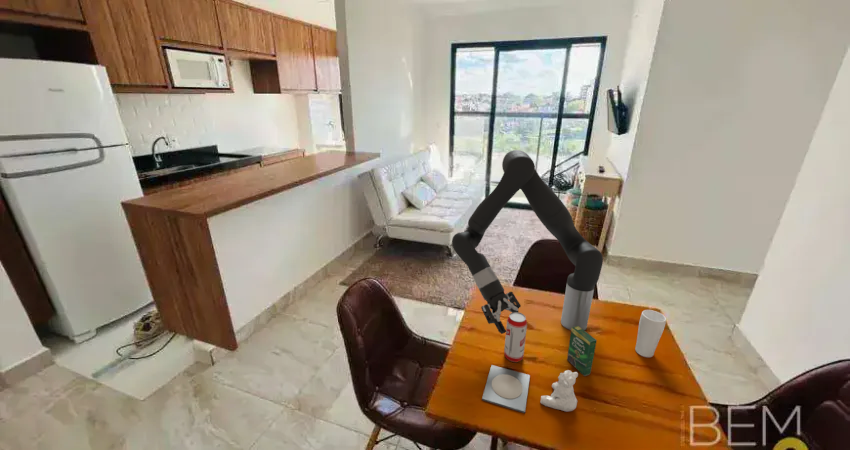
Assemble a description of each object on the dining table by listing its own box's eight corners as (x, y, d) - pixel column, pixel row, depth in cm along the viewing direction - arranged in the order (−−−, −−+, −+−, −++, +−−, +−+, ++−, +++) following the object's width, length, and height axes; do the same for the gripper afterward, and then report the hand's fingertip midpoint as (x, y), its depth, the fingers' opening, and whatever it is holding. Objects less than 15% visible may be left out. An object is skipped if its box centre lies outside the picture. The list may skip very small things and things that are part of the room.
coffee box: (565, 359, 111) (571, 326, 106) (572, 357, 112) (578, 324, 107) (583, 376, 104) (590, 342, 99) (590, 374, 105) (597, 340, 100)
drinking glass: (659, 361, 110) (670, 323, 105) (636, 358, 111) (646, 320, 106) (650, 347, 116) (660, 310, 111) (629, 344, 117) (638, 308, 112)
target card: (491, 366, 108) (491, 364, 108) (529, 376, 104) (530, 374, 104) (481, 400, 96) (482, 397, 96) (524, 413, 92) (525, 411, 92)
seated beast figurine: (554, 384, 101) (559, 352, 97) (582, 402, 95) (589, 369, 91) (538, 402, 95) (542, 369, 91) (567, 422, 89) (574, 388, 85)
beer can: (523, 352, 114) (528, 313, 109) (522, 365, 109) (527, 324, 103) (505, 348, 116) (508, 309, 110) (502, 361, 111) (506, 320, 105)
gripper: (479, 286, 107) (505, 334, 103) (508, 273, 115) (533, 316, 111) (467, 293, 113) (491, 339, 108) (495, 280, 121) (518, 322, 117)
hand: (512, 327), depth 110 cm, fingers open, 8 cm apart
